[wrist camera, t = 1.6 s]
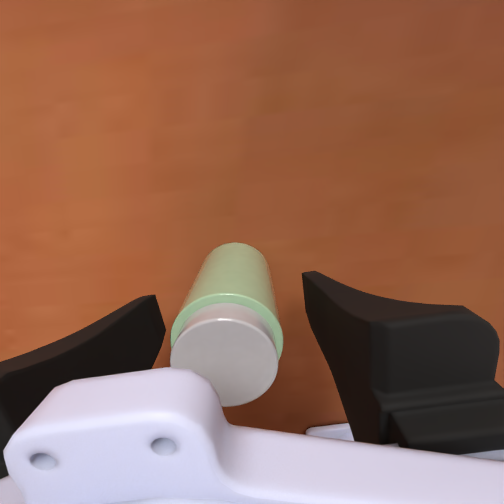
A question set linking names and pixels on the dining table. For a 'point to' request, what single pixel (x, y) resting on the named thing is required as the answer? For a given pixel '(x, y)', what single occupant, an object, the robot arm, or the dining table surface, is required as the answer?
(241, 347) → the salt shaker
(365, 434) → the robot arm
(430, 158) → the dining table surface
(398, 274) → the dining table surface
